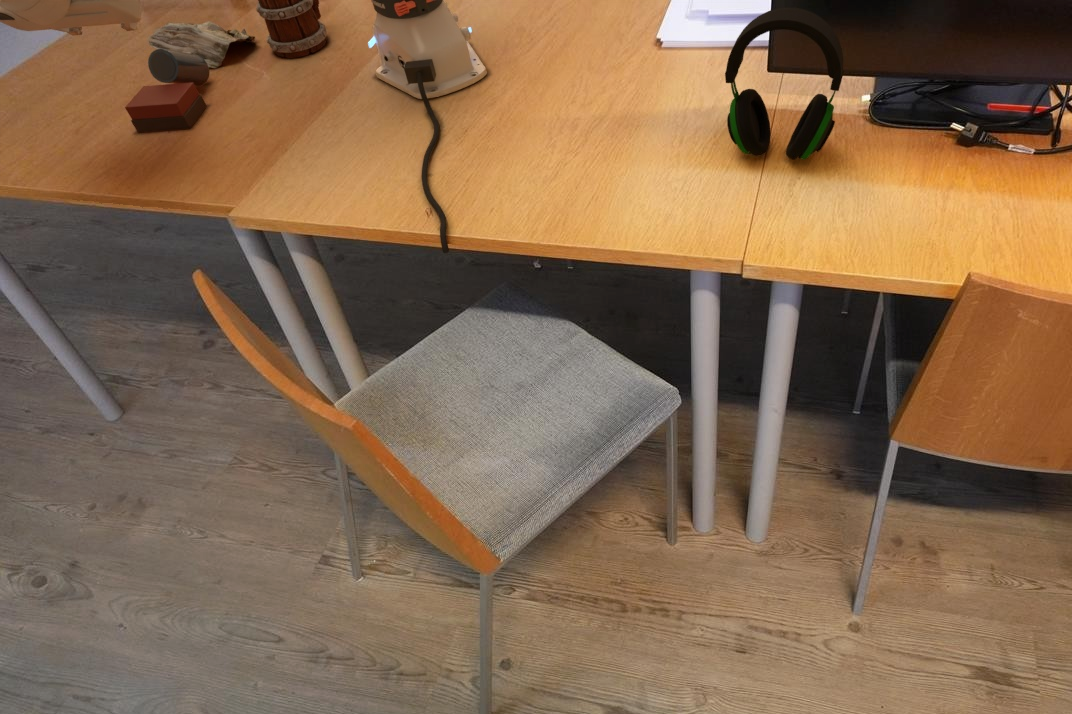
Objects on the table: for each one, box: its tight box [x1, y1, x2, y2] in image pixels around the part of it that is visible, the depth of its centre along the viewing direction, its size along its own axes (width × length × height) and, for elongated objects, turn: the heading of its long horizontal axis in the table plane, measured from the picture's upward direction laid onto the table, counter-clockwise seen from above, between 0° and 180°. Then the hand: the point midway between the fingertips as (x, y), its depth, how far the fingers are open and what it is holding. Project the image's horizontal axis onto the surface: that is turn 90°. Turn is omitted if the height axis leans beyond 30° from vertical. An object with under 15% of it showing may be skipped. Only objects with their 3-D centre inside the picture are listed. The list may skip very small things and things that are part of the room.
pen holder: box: [147, 49, 211, 87], centre depth 142 cm, size 6×6×10 cm
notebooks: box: [124, 82, 208, 133], centre depth 138 cm, size 8×10×5 cm
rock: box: [147, 20, 256, 69], centre depth 156 cm, size 23×7×15 cm
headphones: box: [724, 6, 845, 161], centre depth 107 cm, size 9×16×20 cm, turn 71°
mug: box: [255, 0, 328, 59], centre depth 152 cm, size 12×14×15 cm
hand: (105, 28), depth 124 cm, fingers open, 8 cm apart
